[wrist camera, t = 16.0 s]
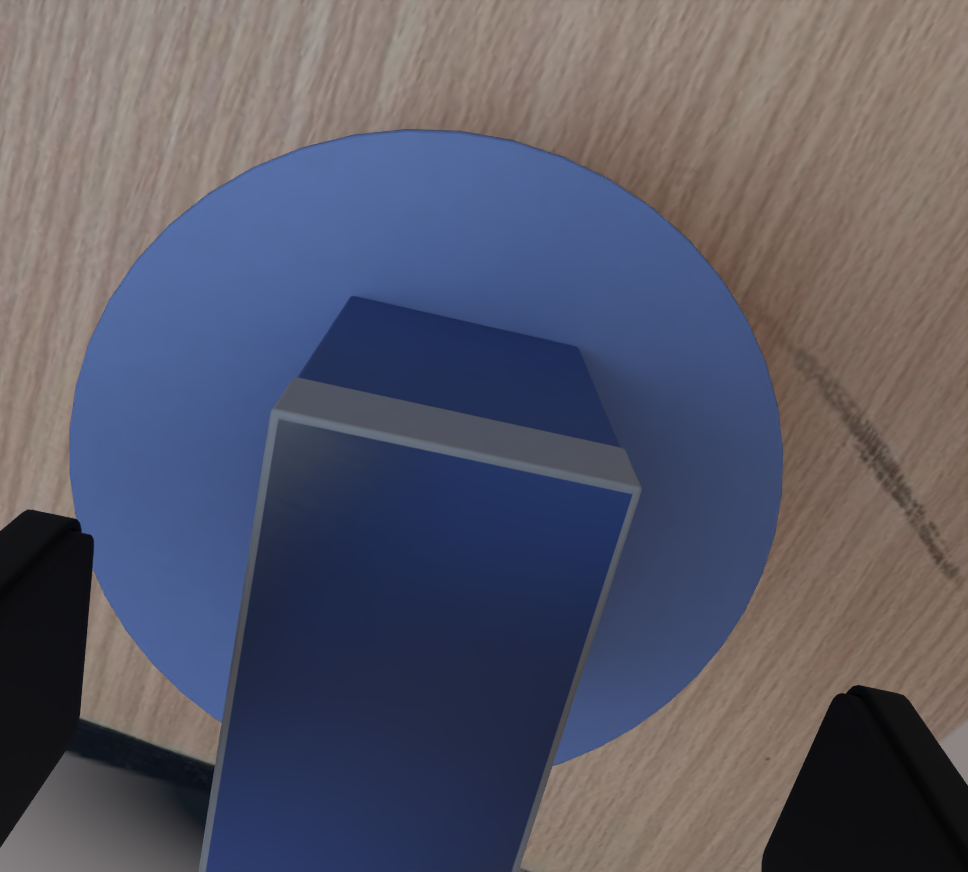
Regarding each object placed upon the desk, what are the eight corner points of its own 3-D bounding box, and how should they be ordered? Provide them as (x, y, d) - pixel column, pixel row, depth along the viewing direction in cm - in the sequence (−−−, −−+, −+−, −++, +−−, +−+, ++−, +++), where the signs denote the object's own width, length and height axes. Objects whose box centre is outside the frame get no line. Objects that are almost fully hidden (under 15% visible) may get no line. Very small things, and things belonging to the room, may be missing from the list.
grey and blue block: (581, 345, 15) (643, 488, 9) (487, 680, 17) (492, 953, 12) (348, 292, 15) (270, 407, 9) (286, 642, 17) (192, 904, 11)
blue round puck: (760, 194, 21) (895, 234, 14) (612, 640, 26) (661, 833, 19) (225, 61, 20) (96, 38, 13) (166, 552, 25) (47, 724, 18)
